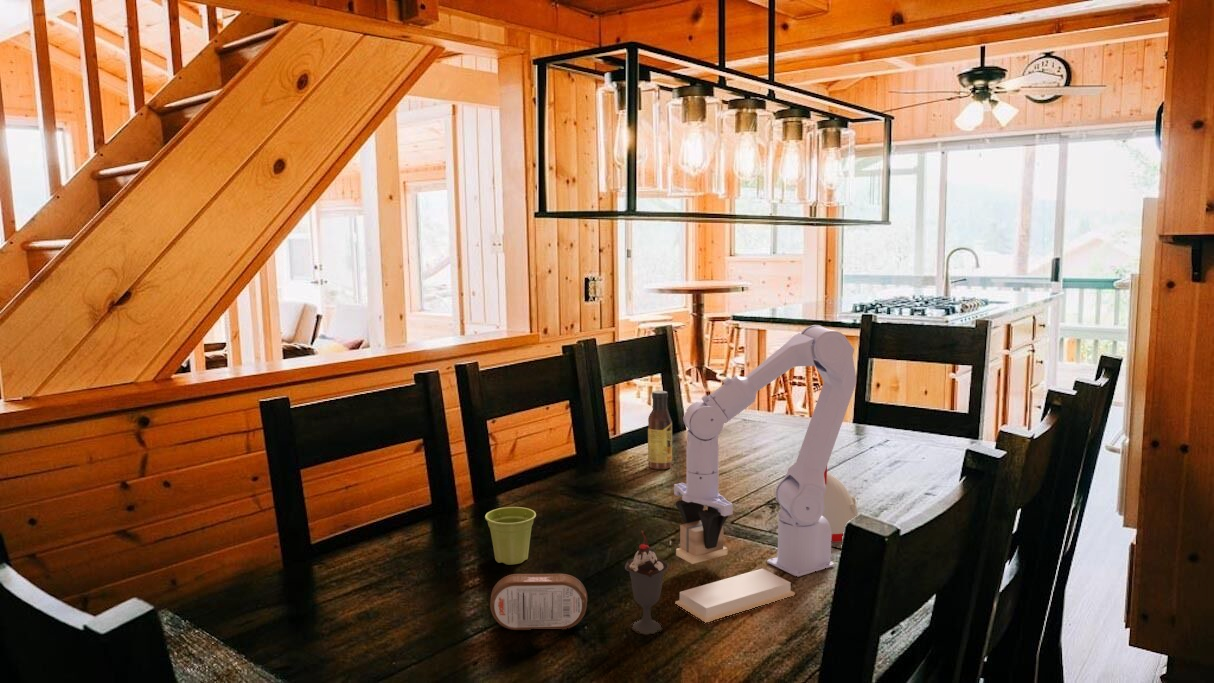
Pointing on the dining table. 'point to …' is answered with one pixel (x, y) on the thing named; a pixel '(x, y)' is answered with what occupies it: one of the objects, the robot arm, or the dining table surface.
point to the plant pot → (510, 533)
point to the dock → (734, 594)
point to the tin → (538, 601)
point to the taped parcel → (698, 544)
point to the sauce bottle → (659, 433)
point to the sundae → (646, 584)
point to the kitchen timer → (837, 506)
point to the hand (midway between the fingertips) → (702, 542)
